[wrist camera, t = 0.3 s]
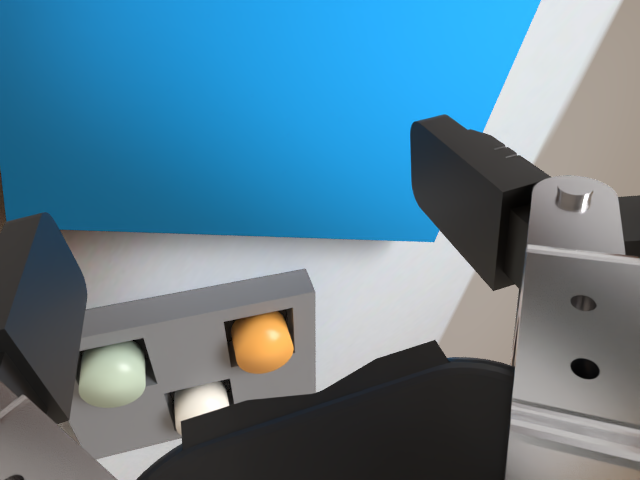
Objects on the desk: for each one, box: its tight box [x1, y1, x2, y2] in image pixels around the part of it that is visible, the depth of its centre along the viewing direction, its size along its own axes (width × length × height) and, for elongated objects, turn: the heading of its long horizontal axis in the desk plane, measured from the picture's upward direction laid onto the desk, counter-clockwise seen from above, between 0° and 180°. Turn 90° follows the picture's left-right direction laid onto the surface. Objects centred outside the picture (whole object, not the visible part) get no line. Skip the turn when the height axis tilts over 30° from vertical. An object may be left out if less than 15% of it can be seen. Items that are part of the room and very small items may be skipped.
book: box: [0, 0, 541, 242], centre depth 27 cm, size 17×4×25 cm
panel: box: [68, 269, 316, 459], centre depth 38 cm, size 13×18×2 cm
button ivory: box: [174, 381, 229, 435], centre depth 38 cm, size 4×4×2 cm
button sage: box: [79, 340, 146, 408], centre depth 34 cm, size 4×4×2 cm
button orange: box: [231, 311, 294, 374], centre depth 36 cm, size 4×4×2 cm
